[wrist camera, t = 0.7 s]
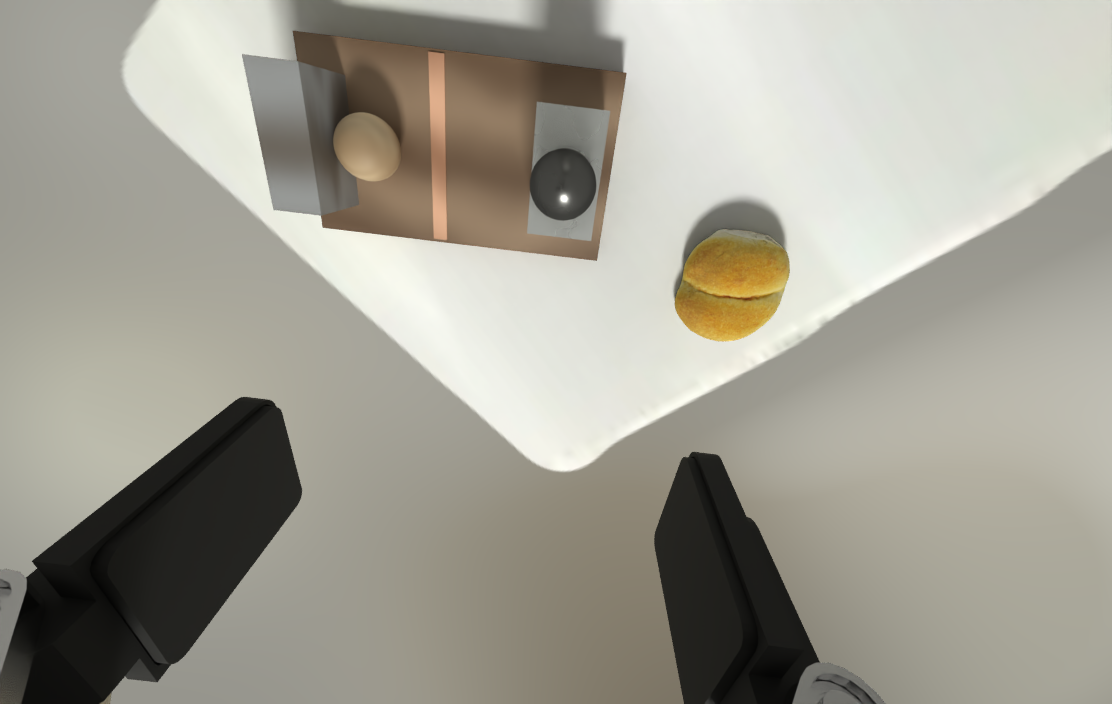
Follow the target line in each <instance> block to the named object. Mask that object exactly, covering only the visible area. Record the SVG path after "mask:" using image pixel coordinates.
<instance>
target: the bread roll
mask: <svg viewBox="0 0 1112 704" xmlns="http://www.w3.org/2000/svg"><path fill="white" fill-rule="evenodd" d="M789 273H790V268H789V258H788V254H787V252H786V251H785V250H784V249H783V247H782V246H781V245H780V244H779V243H777V242H776V241H775V240H774V239H773V238H771V237H770V236H769V235H765V234H761V233H756V232H751V231H745V230H729V229H721V230H717V231H716V232H715V233H713V234H712V235H711V236H710V237H708V238H707V239H705V240H703V241H702V242H701V243H699V244H698V245H697V246H696V247H695V248H694V250H693V251H692V253H691V254H690V256H689V257H688V259H687V261H686V263H685V266H684V271H683V278H682V281H681V285H680V287H679V289H678V291H677V294H676V297H675V309H676V311H677V314H678V315H679V317H680V318H681V320H682V321H683V323H684V324H685V325H686V326H687V327H688V328H689V329H690V330H691V331H693V332H695V333H696V334H698V335H700V336H702V337H704V338H707V339H710V340H715V341H734V340H738V339H741V338H744V337H746V336H748V335H750V334H752V333H753V332H755V331H756V330H758V329H759V328H760V327H762V326H763V325H764V324H765V323H766V322H767V321H768V320H769V319H770V318H771V317H772V316H773V315H774V313H775V312H776V310H777V308H778V306H779V304H780V301H781V298H782V295H783V292H784V288H785V286H786V283H787V280H788V278H789Z"/></svg>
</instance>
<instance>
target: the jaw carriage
mask: <svg viewBox="0 0 1112 704" xmlns="http://www.w3.org/2000/svg"><path fill="white" fill-rule="evenodd" d="M609 116H610V111H607V110H599V109H591V108H583V107H575V106H567V105H559V104H551V103H543V102H537V107H536V121H535V134H534V147H533V161H532V173H531V177H530V200H529V214H528V227H527V233H528V234H536V235H545V236H553V237H561V238H569V239H578V240H586V241H591V238H592V231H593V224H594V218H595V211H596V204H597V197H598V191H599V184H600V177H601V170H602V164H603V157H604V150H605V143H606V137H607V130H608V123H609Z"/></svg>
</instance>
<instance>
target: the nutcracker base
mask: <svg viewBox="0 0 1112 704" xmlns="http://www.w3.org/2000/svg"><path fill="white" fill-rule="evenodd" d="M293 36H294V42H295V49H296V55H297V61H292V60H284V59H276V58H268V57H260V56H252V55H244V54H242V57H243V62H244V67H245V72H246V77H247V82H248V87H249V91H250V96H251V101H252V106H253V111H254V116H255V121H256V126H257V131H258V136H259V141H260V145H261V150H262V155H263V160H264V165H265V170H266V175H267V180H268V185H269V190H270V195H271V199H272V204H273V209H274V210H280V211H288V212H296V213H305V214H313V215H321V219H322V225H323V228H331V229H339V230H347V231H355V232H364V233H372V234H380V235H389V236H397V237H405V238H413V239H422V240H430V241H438V242H446V243H455V244H463V245H471V246H480V247H488V248H496V249H504V250H513V251H521V252H529V253H537V254H546V255H554V256H562V257H571V258H579V259H587V260H595V261H597V256H598V250H599V244H600V237H601V231H602V225H603V218H604V212H605V206H606V199H607V193H608V187H609V180H610V174H611V168H612V161H613V155H614V149H615V143H616V136H617V130H618V124H619V117H620V111H621V105H622V98H623V92H624V86H625V79H626V73H623V72H615V71H607V70H599V69H591V68H583V67H576V66H568V65H560V64H552V63H544V62H536V61H528V60H520V59H512V58H504V57H496V56H489V55H481V54H473V53H465V52H457V51H449V50H441V49H433V48H425V47H417V46H409V45H402V44H394V43H386V42H378V41H370V40H362V39H354V38H346V37H338V36H330V35H322V34H315V33H307V32H299V31H293ZM537 102H543V103H551V104H559V105H567V106H575V107H583V108H591V109H599V110H607V111H610V116H609V123H608V130H607V137H606V143H605V150H604V157H603V164H602V170H601V177H600V184H599V191H598V197H597V204H596V211H595V218H594V224H593V231H592V238H591V241H586V240H578V239H569V238H561V237H553V236H545V235H536V234H528V233H527V227H528V214H529V200H530V177H531V173H532V161H533V147H534V134H535V121H536V107H537Z"/></svg>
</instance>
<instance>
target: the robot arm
mask: <svg viewBox="0 0 1112 704" xmlns="http://www.w3.org/2000/svg"><path fill="white" fill-rule="evenodd" d="M301 495H302V488H301V484H300V480H299V476H298V472H297V469H296V465H295V461H294V457H293V453H292V449H291V446H290V442H289V438H288V434H287V430H286V426H285V423H284V419H283V415H282V412H281V410H280V409H279V408H277V407H276V406H275V403H274V402H273V401H270V400H265V399H258V398H250V397H241V398H239V399H237V400H235V401H234V402H233V403H232V404H230V405H229V406H228V407H227V408H225V409H224V410H223V411H222V412H220V413H219V414H218V415H216V416H215V417H214V418H213V419H211V420H210V421H209V422H208V423H206V424H205V425H204V426H203V427H201V428H200V429H199V430H198V431H196V432H195V433H194V434H192V435H191V436H190V437H189V438H187V439H186V440H185V441H183V442H182V443H181V444H180V445H179V446H177V447H176V448H175V449H173V450H172V451H171V452H170V453H168V454H167V455H166V456H164V457H163V458H162V459H161V460H159V461H158V462H157V463H156V464H155V465H153V466H152V467H151V468H149V469H148V470H147V471H145V472H144V473H143V474H142V475H140V476H139V477H138V478H137V479H135V480H134V481H133V482H132V483H130V484H129V485H128V486H127V487H125V488H124V489H123V490H121V491H120V492H119V493H118V494H116V495H115V496H114V497H112V498H111V499H110V500H109V501H107V502H106V503H105V504H104V505H102V506H101V507H100V508H99V509H97V510H96V511H95V512H94V513H92V514H91V515H90V516H88V517H87V518H86V519H85V520H83V521H82V522H81V523H80V524H78V525H77V526H76V527H75V528H74V529H72V530H71V531H69V532H68V533H67V534H66V535H65V536H63V537H62V538H61V539H59V540H58V541H57V542H55V543H54V544H53V545H52V546H51V547H49V548H48V549H47V550H45V551H44V552H43V553H42V554H40V555H39V556H38V557H36V558H35V559H34V560H33V561H32V562H33V563H34V565H35V566H36V567H37V569H36V570H35V571H34V572H33V573H31V574H30V575H29V576H28V577H24V575H23V574H21V572H18V571H14V570H9V569H4V570H0V704H110V702H111V694H112V691H113V690H114V689H115V687H116V686H117V685H118V684H119V682H120V681H121V680H122V679H123V678H124V676H126V678H127V679H133V680H143V681H151V682H158V681H159V679H160V678H161V677H162V676H163V674H164V673H165V672H166V670H167V669H168V668H169V666H170V665H171V664H174V663H176V662H178V661H179V660H180V659H182V658H183V657H184V656H185V655H186V653H187V652H188V651H189V650H190V648H191V647H192V646H193V644H194V643H195V642H196V640H197V639H198V637H199V636H200V635H201V634H202V632H203V631H204V630H205V628H206V627H207V625H208V624H209V623H210V622H211V620H212V619H213V618H214V616H215V615H216V613H217V612H218V611H219V610H220V608H221V607H222V606H223V604H224V603H225V601H226V600H227V599H228V597H229V596H230V594H231V593H232V592H233V591H234V589H235V588H236V587H237V585H238V584H239V583H240V581H241V580H242V579H243V577H244V576H245V575H246V573H247V572H248V571H249V569H250V568H251V567H252V565H253V564H254V563H255V561H256V560H257V559H258V557H259V556H260V555H261V553H262V552H263V551H264V549H265V548H266V547H267V545H268V544H269V543H270V541H271V540H272V539H273V537H274V536H275V535H276V533H277V532H278V531H279V529H280V528H281V526H282V525H283V524H284V522H285V521H286V520H287V518H288V517H289V516H290V514H291V513H292V512H293V510H294V509H295V507H296V506H297V505H298V503H299V501H300V499H301ZM654 540H655V541H654V542H655V543H654V544H655V551H656V556H657V562H658V567H659V572H660V578H661V583H662V588H663V594H664V599H665V604H666V610H667V614H668V620H669V625H670V631H671V636H672V642H673V646H674V652H675V658H676V663H677V668H678V673H679V679H680V684H681V689H682V695H683V700H684V704H885V703H884V701H883V700H882V699H881V698H880V696H879V695H878V694H877V693H876V692H875V691H874V690H873V689H872V688H871V687H870V686H869V685H868V684H866V683H865V682H864V681H863V680H862V679H861V678H860V677H858V676H856V675H855V674H853V673H851V672H850V671H848V670H847V669H845V668H843V667H840V666H837V665H834V664H831V663H820V662H819V660H818V658H817V655H816V653H815V651H814V649H813V646H812V645H811V643H810V640H809V638H808V636H807V633H806V631H805V629H804V627H803V625H802V622H801V620H800V618H799V616H798V614H797V612H796V610H795V607H794V605H793V603H792V601H791V599H790V596H789V594H788V592H787V590H786V588H785V586H784V583H783V581H782V579H781V577H780V574H779V572H778V570H777V568H776V566H775V564H774V562H773V559H772V557H771V555H770V553H769V550H768V549H767V546H766V544H765V542H764V540H763V537H762V535H761V533H760V531H759V529H758V527H757V525H756V524H755V522H754V521H753V520H752V519H751V518H748V517H746V515H745V512H744V510H743V508H742V506H741V503H740V501H739V499H738V497H737V494H736V492H735V490H734V488H733V486H732V483H731V481H730V478H729V477H728V474H727V472H726V469H725V467H724V465H723V463H722V460H721V458H720V457H719V456H718V455H715V454H707V453H699V452H692V453H691V454H690V456H689V457H688V458H687V457H683V458H682V460H681V462H680V465H679V467H678V470H677V473H676V476H675V478H674V481H673V484H672V487H671V490H670V492H669V495H668V498H667V501H666V504H665V506H664V509H663V512H662V514H661V517H660V520H659V523H658V526H657V529H656V531H655V538H654Z"/></svg>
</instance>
